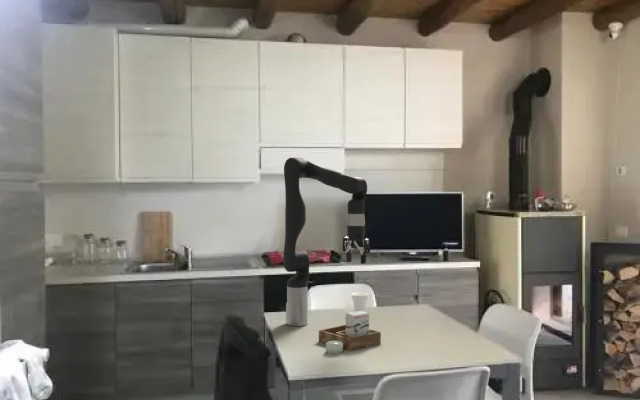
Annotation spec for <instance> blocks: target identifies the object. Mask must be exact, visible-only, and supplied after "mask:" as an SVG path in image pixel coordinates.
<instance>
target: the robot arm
mask: <svg viewBox="0 0 640 400" xmlns="http://www.w3.org/2000/svg"><path fill="white" fill-rule="evenodd" d="M283 165H284V166H283V176H284V178H283V179H284V188H285V190H284V191H285V192H284V193H285V194H284V195H285V208H284V210H285V213H284V222H285V223H284V225H285V226H284V228H285V229H284V230H285V232H284V246H283V248H284V249H283V256H282V257H283V258H282V259H283V261H282V263H283V268H284V270H285V271H286V272H288V273H294V272H295V274H294V275H293V276H292V277H290V278H289V279H287V282H286V283H287V284H286V298H287V299H286V300H287V301H286V303H285V312H286V313H285V319H286V320H285V323H286V324H287V326H291V327H303V326H307V325H308V319H309V318H308V315H309V313H308V312H309V311H308V307H309V305H308V303H309V302H308V283H309V278H310V256H309V254H308V253H307V251H305V250H296V247H297V240H298V238H299V237H300V235H301V233H302V231H303V229H304V226H305V225H306V220H307V219H306V218H307V217H306V215H307V213H306V212H307V211H306V210H307V207H306V204H305V201H304V199H303V196H302V194H301V190H300V179H303V178H304V179H311V180H312V179H313V180H316V181H318V182H320V183H322V184H324V185H326V186H327V187H332V188H336V189H338V190H340V191H342V192H345V193H347V194H351V199H350V200H349V201H348V202H347V217H346V235H347V236H345V237H343V238H342V252H345V255H346V256H345V260H346V262H347V263H351V262H352V259H353V258H352V257H353V256H352V251H353V250H354V249H355V250H357V251H358V252H359V253H360V264H361V265H365V264H367V255H368V254H370V253H371V244H370V243H371V242H370V238H365V237H364V236H365V235H366V218H365V217H366V216H365V203H366V200H367V199H366V198H367V192H368V184H367V180H366V179H365V178H363V177H360V176H359V177H358V176H350V175H347V174H345V173H344V172H341V171H338V170H337V171H336V170H333V169H331V168H330V169H329V168H326V167H322V166H319V165H316V164H315V163H312V162H311V161H309V160H307V159H304V158H302V157H289V158H287V159H286V160H285V162H284V164H283Z"/></svg>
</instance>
